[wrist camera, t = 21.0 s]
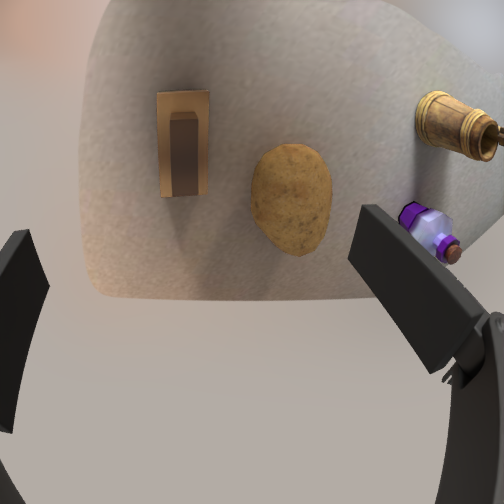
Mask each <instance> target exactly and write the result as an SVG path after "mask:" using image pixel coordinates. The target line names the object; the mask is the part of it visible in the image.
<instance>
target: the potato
mask: <svg viewBox="0 0 504 504" xmlns="http://www.w3.org/2000/svg"><path fill="white" fill-rule="evenodd" d="M331 203H332V180H331V176H330V173H329V171H328V168H327V166H326V164H325V162H324V161H323V159H322V158H321V156H320V155H319V153H318V152H317V151H315V150H313V149H311V148H309V147H307V146H305V145H303V144H282V145H280V146H278V147H276V148H274V149H272V150H270V151H269V152H267V153H265V154H264V155H263V156H262V158H261V160H260V161H259V163H258V164H257V166H256V168H255V170H254V175H253V179H252V186H251V212H252V215H253V218H254V220H255V223H256V224H257V225H258V226H259V228H260V229H261V230H262V231H263V232H264V233H265V234H266V236H267V237H268V238H269V239H270V240H271V241H272V242H273V243H274V244H275V246H277V247H278V248H279V249H281V250H282V251H283V252H285V253H287V254H290V255H294V256H298V257H300V256H303V255H306V254H308V253H311V252H313V251H315V249H316V248H317V246H318V245H319V243H320V242H321V241H322V239H323V238H324V236H325V233H326V229H327V225H328V222H329V217H330V211H331Z"/></svg>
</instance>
